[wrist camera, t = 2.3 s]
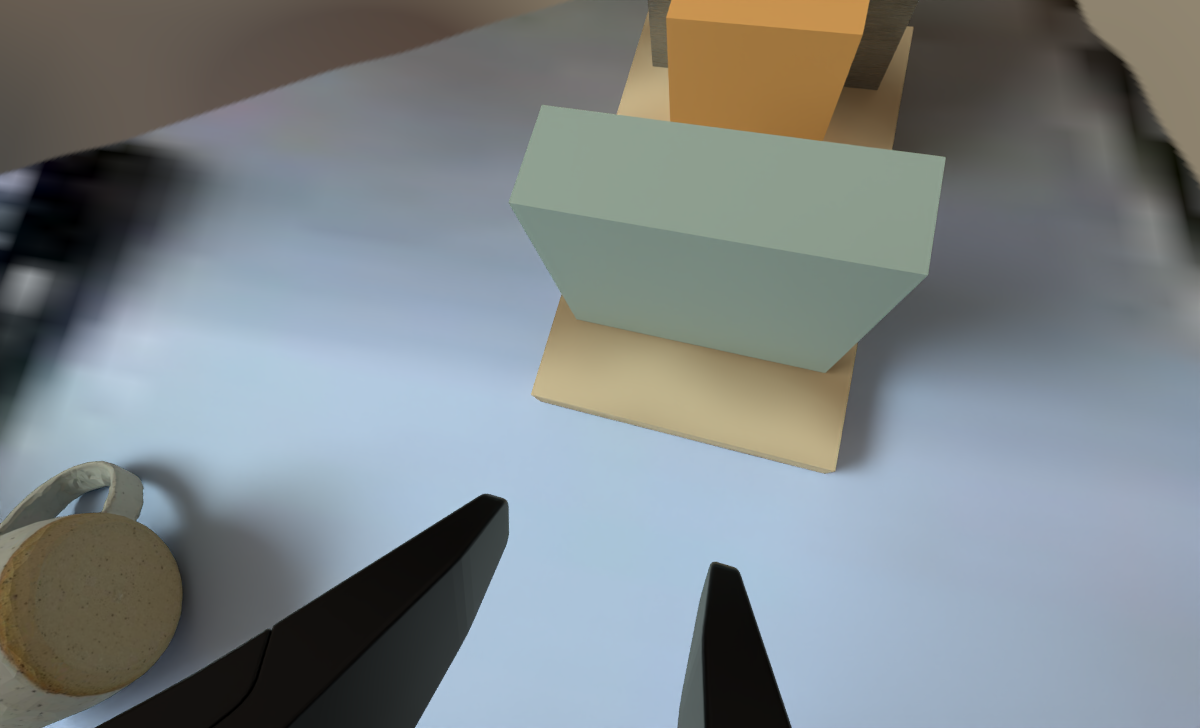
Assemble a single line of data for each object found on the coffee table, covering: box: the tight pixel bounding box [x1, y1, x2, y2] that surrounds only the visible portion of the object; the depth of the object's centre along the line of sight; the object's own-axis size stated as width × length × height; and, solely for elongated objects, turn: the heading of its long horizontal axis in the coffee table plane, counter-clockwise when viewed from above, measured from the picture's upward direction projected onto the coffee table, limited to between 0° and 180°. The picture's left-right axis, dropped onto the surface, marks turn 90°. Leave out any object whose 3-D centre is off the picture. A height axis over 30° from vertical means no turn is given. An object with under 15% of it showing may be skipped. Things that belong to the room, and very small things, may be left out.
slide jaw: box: [509, 105, 946, 373], centre depth 17 cm, size 3×10×9 cm, turn 75°
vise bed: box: [531, 11, 914, 474], centre depth 24 cm, size 20×12×2 cm, turn 164°
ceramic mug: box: [0, 461, 183, 728], centre depth 21 cm, size 11×8×8 cm
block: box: [666, 0, 870, 141], centre depth 20 cm, size 3×6×7 cm, turn 75°
